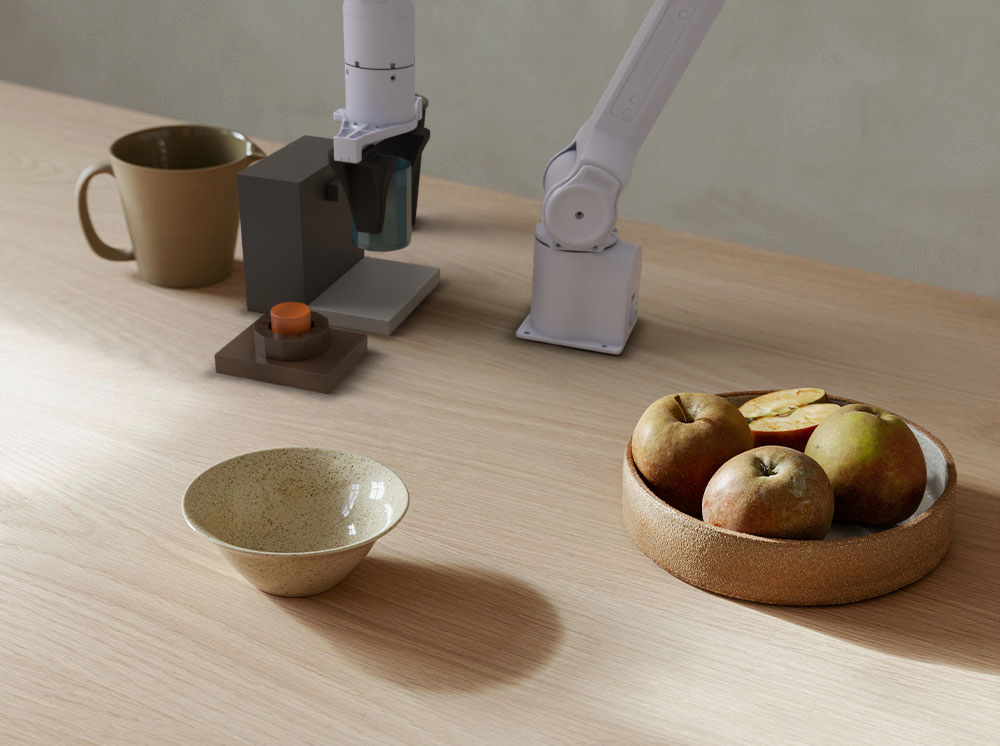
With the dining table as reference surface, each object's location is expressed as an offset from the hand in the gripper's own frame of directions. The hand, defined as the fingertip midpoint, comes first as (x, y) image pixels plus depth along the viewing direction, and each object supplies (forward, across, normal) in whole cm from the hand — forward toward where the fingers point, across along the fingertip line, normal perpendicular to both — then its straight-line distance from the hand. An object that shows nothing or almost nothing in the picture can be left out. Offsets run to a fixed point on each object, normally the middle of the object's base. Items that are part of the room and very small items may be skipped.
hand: (382, 220), depth 96 cm
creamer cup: (+2, 0, 0) cm, 2 cm away
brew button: (+6, +11, -4) cm, 13 cm away
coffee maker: (+9, -3, -5) cm, 11 cm away
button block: (+9, +11, -4) cm, 15 cm away
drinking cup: (+10, -23, -8) cm, 27 cm away
